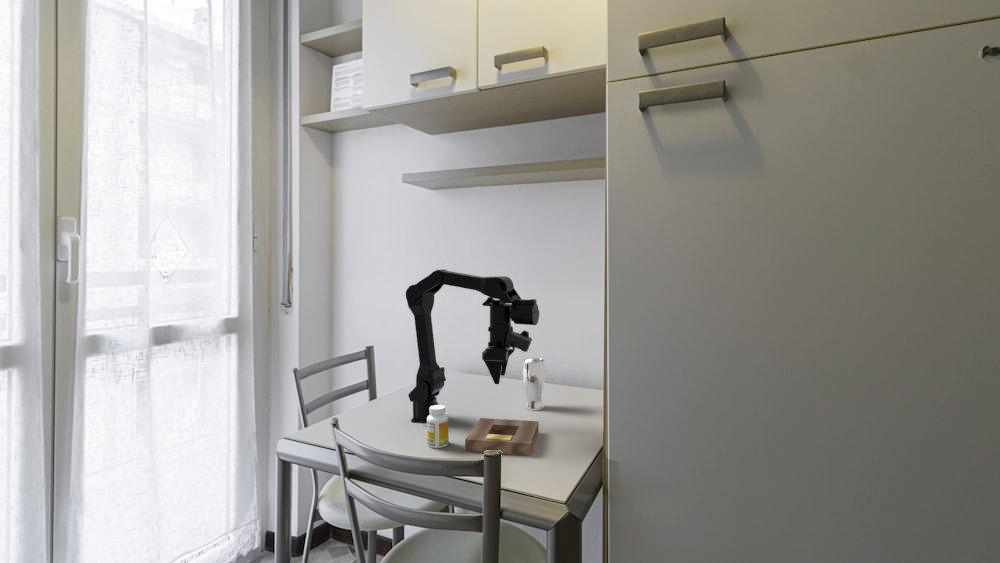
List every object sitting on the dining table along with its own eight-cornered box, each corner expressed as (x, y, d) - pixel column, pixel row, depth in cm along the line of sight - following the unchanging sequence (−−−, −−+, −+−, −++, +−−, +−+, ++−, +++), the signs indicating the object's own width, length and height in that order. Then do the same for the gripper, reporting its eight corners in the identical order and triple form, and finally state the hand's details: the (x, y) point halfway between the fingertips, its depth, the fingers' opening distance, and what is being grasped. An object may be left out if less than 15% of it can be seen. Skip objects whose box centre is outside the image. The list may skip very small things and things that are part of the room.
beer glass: (527, 412, 153) (526, 363, 152) (520, 405, 159) (519, 358, 158) (548, 410, 155) (548, 361, 154) (540, 403, 161) (540, 357, 160)
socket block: (465, 451, 123) (465, 438, 123) (480, 428, 139) (480, 416, 139) (530, 455, 120) (530, 442, 120) (538, 432, 136) (538, 420, 135)
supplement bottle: (449, 440, 130) (448, 403, 130) (447, 448, 125) (447, 410, 125) (428, 440, 130) (427, 404, 130) (426, 449, 125) (425, 410, 124)
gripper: (525, 329, 126) (524, 390, 127) (533, 319, 144) (533, 372, 145) (481, 327, 128) (481, 388, 129) (495, 317, 146) (495, 370, 147)
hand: (499, 379), depth 137 cm, fingers open, 9 cm apart
